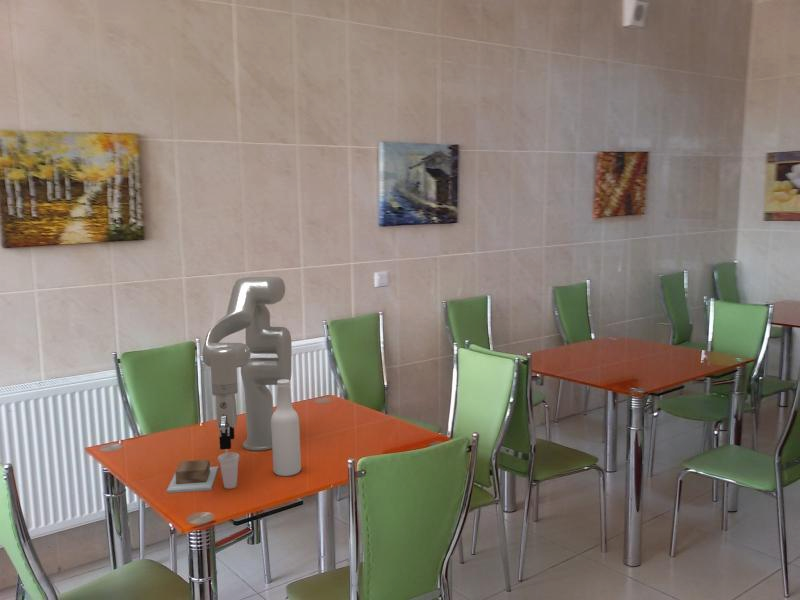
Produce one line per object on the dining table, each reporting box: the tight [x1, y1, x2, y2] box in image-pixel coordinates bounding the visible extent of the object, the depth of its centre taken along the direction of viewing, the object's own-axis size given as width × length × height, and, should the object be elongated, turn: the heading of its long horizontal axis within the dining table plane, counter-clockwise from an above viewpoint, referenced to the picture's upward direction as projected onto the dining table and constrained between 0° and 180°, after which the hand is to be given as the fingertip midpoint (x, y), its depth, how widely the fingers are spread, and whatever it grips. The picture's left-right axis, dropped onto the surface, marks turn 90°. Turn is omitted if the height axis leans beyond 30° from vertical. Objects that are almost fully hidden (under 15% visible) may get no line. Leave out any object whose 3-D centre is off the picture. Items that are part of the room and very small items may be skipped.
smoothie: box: [217, 449, 240, 490], centre depth 224 cm, size 6×6×14 cm
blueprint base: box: [166, 459, 219, 494], centre depth 230 cm, size 13×18×5 cm
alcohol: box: [271, 379, 302, 477], centre depth 234 cm, size 9×9×30 cm
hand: (227, 444), depth 223 cm, fingers open, 9 cm apart
